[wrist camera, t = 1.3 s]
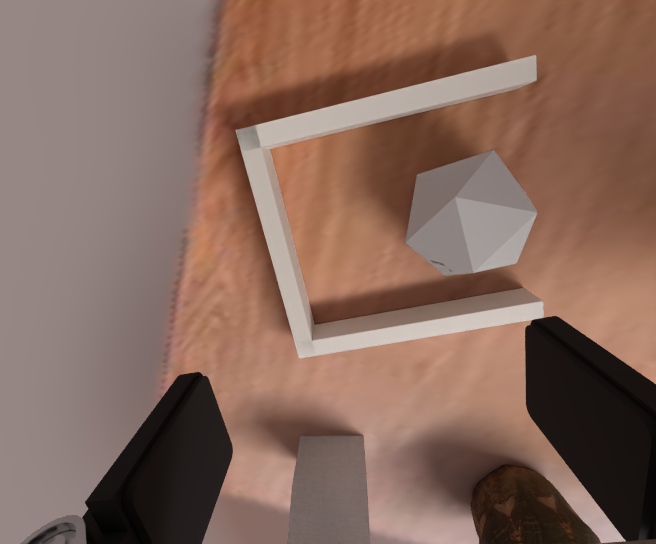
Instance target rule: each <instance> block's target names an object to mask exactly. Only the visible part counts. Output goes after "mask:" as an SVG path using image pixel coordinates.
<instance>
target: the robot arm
mask: <svg viewBox="0 0 656 544" xmlns="http://www.w3.org/2000/svg"><path fill="white" fill-rule="evenodd" d="M525 351H526V406H527V410H528V413H529V415H530V417H531V418H532V420H533V421H534V422H535V423H536V425H537V426H538V427H539V429H540V430H541V431H542V433H543V434H544V435H545V436H546V438H547V439H548V440H549V442H550V443H551V444H552V446H553V447H554V448H555V450H556V451H557V452H558V453H559V455H560V456H561V457H562V459H563V460H564V461H565V463H566V464H567V465H568V466H569V468H570V469H571V470H572V472H573V473H574V474H575V476H576V477H577V478H578V479H579V481H580V482H581V483H582V485H583V486H584V487H585V489H586V490H587V491H588V492H589V494H590V495H591V496H592V498H593V499H594V500H595V502H596V503H597V504H598V506H599V507H600V508H601V509H602V511H603V512H604V513H605V515H606V516H607V517H608V519H609V520H610V521H611V522H612V524H613V525H614V526H615V528H616V529H617V530H618V532H619V533H620V534H621V535H622V537H623V538H624V539H625V540H626V541H625V542H613V543H600V544H656V384H654V383H653V382H652V381H650V380H649V379H647V378H646V377H644V376H643V375H641V374H640V373H639V372H637V371H636V370H634V369H633V368H631V367H630V366H628V365H627V364H626V363H624V362H623V361H621V360H620V359H618V358H617V357H615V356H614V355H613V354H611V353H610V352H608V351H607V350H605V349H604V348H602V347H601V346H600V345H598V344H597V343H595V342H594V341H592V340H591V339H589V338H588V337H587V336H585V335H584V334H582V333H581V332H579V331H578V330H576V329H575V328H573V327H572V326H571V325H569V324H568V323H566V322H565V321H563V320H562V319H560V318H559V317H557V316H552V317H546V318H539V319H534V320H532V322H531V325H528V326H527V327H526V329H525ZM232 454H233V448H232V443H231V440H230V438H229V435H228V432H227V429H226V426H225V423H224V421H223V418H222V415H221V412H220V409H219V407H218V404H217V401H216V398H215V395H214V393H213V390H212V387H211V384H210V381H209V379H208V377H207V376H203V375H202V374H201V373H200V372H195V373H189V374H183V375H179V376H178V377H177V378H176V380H175V381H174V382H173V384H172V385H171V386H170V388H169V389H168V391H167V392H166V393H165V395H164V396H163V397H162V399H161V400H160V401H159V403H158V404H157V405H156V407H155V408H154V410H153V411H152V412H151V414H150V415H149V416H148V418H147V419H146V420H145V422H144V423H143V424H142V426H141V427H140V428H139V430H138V431H137V433H136V434H135V436H134V437H133V438H132V439H131V441H130V442H129V443H128V445H127V446H126V448H125V449H124V450H123V452H122V453H121V454H120V456H119V457H118V458H117V460H116V461H115V462H114V464H113V465H112V466H111V468H110V469H109V471H108V472H107V473H106V475H105V476H104V477H103V479H102V480H101V481H100V483H99V484H98V485H97V487H96V488H95V489H94V491H93V492H92V493H91V495H90V496H89V498H88V499H87V500H86V502H85V503H86V505H87V507H88V510H87V512H86V513H85V515H84V516H83V517H82V518H81V517H79V516H77V515H69V516H65V517H62V518H58V519H56V520H54V521H52V522H50V523H48V524H46V525H44V526H43V527H41V528H40V529H38V530H37V531H36V532H34V533H33V534H31V535H30V536H29V537H28V538H27V539H25V540H24V541H23V542H22V543H21V544H202V541H203V539H204V535H205V533H206V530H207V527H208V524H209V521H210V519H211V516H212V513H213V510H214V507H215V504H216V501H217V499H218V496H219V493H220V490H221V487H222V485H223V482H224V479H225V476H226V473H227V470H228V467H229V465H230V462H231V459H232Z"/></svg>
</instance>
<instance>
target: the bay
mask: <svg viewBox="0 0 656 544" xmlns="http://www.w3.org/2000/svg"><path fill="white" fill-rule="evenodd" d="M534 81H537V69H536V55H533V56H529V57H525V58H521V59H517V60H513V61H509V62H505V63H501V64H497V65H493V66H489V67H485V68H481V69H477V70H473V71H469V72H465V73H461V74H457V75H453V76H449V77H445V78H441V79H437V80H433V81H429V82H426V83H422V84H418V85H414V86H410V87H406V88H402V89H398V90H394V91H390V92H386V93H382V94H378V95H374V96H370V97H366V98H362V99H358V100H354V101H350V102H346V103H342V104H338V105H334V106H330V107H326V108H322V109H318V110H314V111H310V112H306V113H302V114H298V115H294V116H290V117H286V118H282V119H278V120H274V121H270V122H266V123H262V124H258V125H254V126H250V127H246V128H242V129H238V130H235V131H236V134H237V138H238V142H239V145H240V149H241V152H242V156H243V159H244V163H245V167H246V170H247V174H248V177H249V181H250V184H251V188H252V192H253V195H254V199H255V202H256V206H257V209H258V213H259V217H260V220H261V224H262V227H263V231H264V234H265V238H266V242H267V245H268V249H269V252H270V256H271V259H272V263H273V267H274V270H275V274H276V277H277V281H278V284H279V288H280V292H281V295H282V299H283V302H284V306H285V309H286V313H287V317H288V320H289V324H290V327H291V331H292V334H293V338H294V342H295V345H296V349H297V352H298V356H299V358H305V357H311V356H317V355H323V354H329V353H335V352H341V351H347V350H353V349H359V348H365V347H371V346H377V345H383V344H389V343H395V342H401V341H407V340H413V339H419V338H425V337H431V336H437V335H443V334H449V333H455V332H461V331H467V330H473V329H479V328H485V327H491V326H497V325H503V324H509V323H515V322H522V321H528V320H534V319H539V318H543V301H542V300H541V299H539V298H538V297H536V296H535V295H533V294H532V293H531V292H529V291H528V290H526V289H525V288H520V289H514V290H508V291H503V292H497V293H491V294H486V295H480V296H474V297H469V298H463V299H457V300H452V301H446V302H441V303H435V304H429V305H424V306H418V307H412V308H407V309H401V310H395V311H390V312H384V313H378V314H373V315H367V316H361V317H356V318H350V319H345V320H339V321H333V322H328V323H322V324H316V325H315V323H314V319H313V315H312V312H311V308H310V304H309V300H308V296H307V292H306V288H305V284H304V280H303V276H302V272H301V268H300V265H299V261H298V257H297V253H296V249H295V245H294V241H293V237H292V233H291V229H290V225H289V221H288V217H287V214H286V210H285V206H284V202H283V198H282V194H281V190H280V186H279V182H278V178H277V174H276V170H275V166H274V163H273V159H272V155H271V151H270V149H272V148H276V147H280V146H285V145H289V144H293V143H297V142H301V141H305V140H309V139H314V138H318V137H322V136H326V135H330V134H334V133H338V132H343V131H347V130H351V129H355V128H359V127H363V126H368V125H372V124H376V123H380V122H384V121H388V120H392V119H397V118H401V117H405V116H409V115H413V114H417V113H421V112H426V111H430V110H434V109H438V108H442V107H446V106H450V105H455V104H459V103H463V102H467V101H471V100H475V99H480V98H484V97H488V96H492V95H496V94H500V93H504V92H509V91H513V90H516V89H518V88H520V87H523V86H525V85H527V84H530V83H532V82H534Z"/></svg>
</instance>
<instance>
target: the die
mask: <svg viewBox="0 0 656 544" xmlns="http://www.w3.org/2000/svg"><path fill="white" fill-rule="evenodd" d="M537 213H538V212H537V211H536V209H535V207H534V206H533V204H532V202H531V201H530V199H529V197H528V195H527V194H526V193H525V191H524V190H523V189H522V187H521V186H520V185H519V183H518V182H517V181H516V179H515V178H514V177H513V175H512V174H511V172H510V171H509V170H508V168H507V167H506V166H505V164H504V163H503V162H502V160H501V159H500V158H499V156H498V155H497V154H496V152H495V151H494V150H491V151H488V152H485V153H482V154H479V155H476V156H473V157H470V158H466V159H463V160H460V161H457V162H454V163H451V164H448V165H445V166H442V167H439V168H435V169H432V170H429V171H426V172H423V173H420V174H417V178H416V183H415V189H414V195H413V201H412V206H411V212H410V218H409V223H408V229H407V235H406V241H405V243H406V244H407V245H409V246H410V247H411V248H412V249H413V250H414V251H416V252H417V253H418V254H419V255H420V256H422V257H423V258H424V259H425V260H426V261H428V262H429V263H430V264H431V265H432V266H434V267H435V268H436V269H437V270H438V271H439V272H441V273H442V274H443V275H444V276H446V275H457V274H468V273H476V272H480V271H485V270H489V269H494V268H498V267H503V266H508V265H512V264H517V261H518V259H519V257H520V254H521V252H522V249H523V247H524V244H525V242H526V240H527V237H528V235H529V232H530V230H531V227H532V225H533V223H534V220H535V218H536V215H537Z"/></svg>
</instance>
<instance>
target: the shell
mask: <svg viewBox="0 0 656 544" xmlns="http://www.w3.org/2000/svg"><path fill="white" fill-rule="evenodd" d="M471 511H472V515H473V520H474V524H475V528H476V532H477V534H478V537H479V544H600V543H601V542H600V540H599V538H598V537H597V535H596V534H595V533H594V532H593V531H592V530H591V528H590V527H588V526H587V525H586V524H585V523H584V522H583V521H582V520H581V519H580V517H579V516H578V515H577V514H576V513H575V511H574V510H573V509H572V508H571V506H570V505H569V504H568V503H567V502H566V500H565V499H564V498H563V496H562V495H561V494H560V492H559V491H558V490H557V489H556V488H555V487H554V486H553V484H552V483H551V482H550V481H548V480H547V479H546V478H545V477H543V476H542V475H540V474H539V473H537V472H535V471H532V470H529V469H525V468H522V467H516V466H503V465H502V466H501V467H500V468H498V469H496V470H494V471H493V472H492V473H490V474H489V475H488V476H486V477H485V478H484V479H483V480H481V481H480V482H479V483H478V485H477V486H476V488H475V490H474V492H473V494H472V500H471Z"/></svg>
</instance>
